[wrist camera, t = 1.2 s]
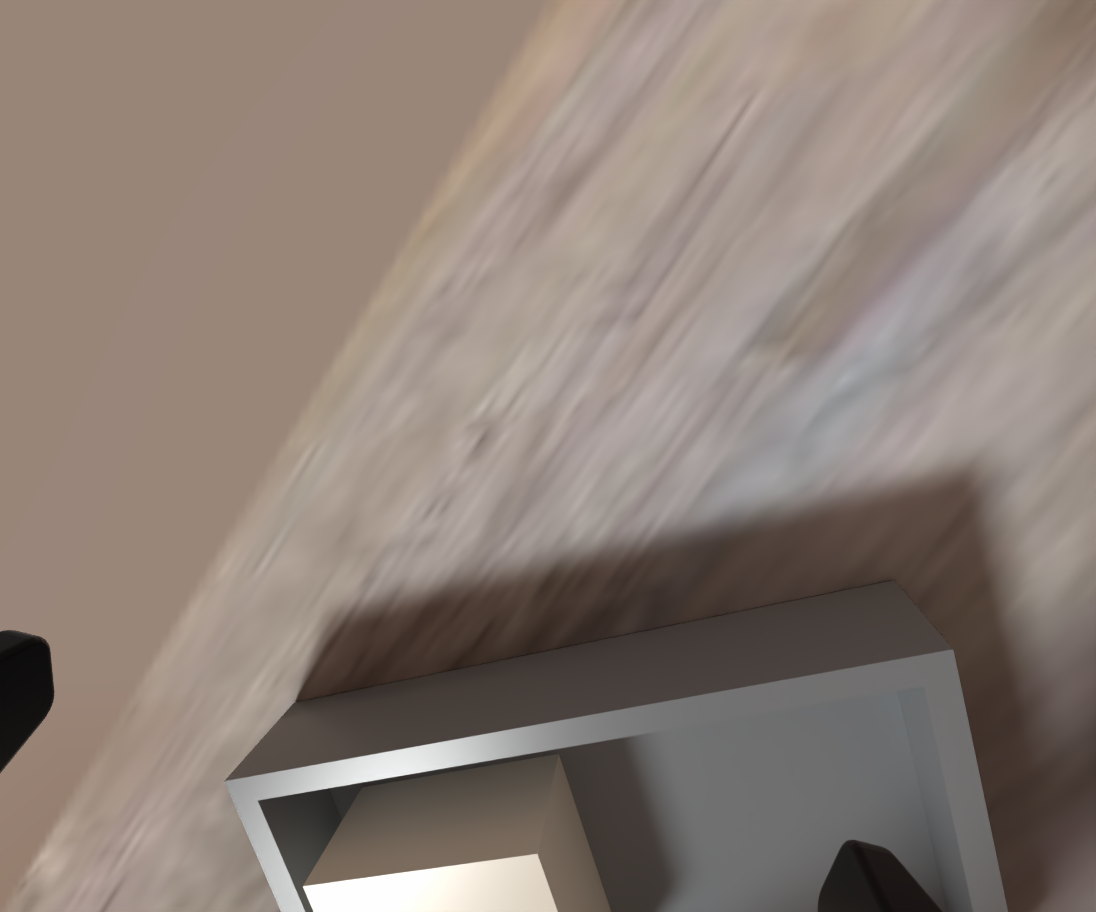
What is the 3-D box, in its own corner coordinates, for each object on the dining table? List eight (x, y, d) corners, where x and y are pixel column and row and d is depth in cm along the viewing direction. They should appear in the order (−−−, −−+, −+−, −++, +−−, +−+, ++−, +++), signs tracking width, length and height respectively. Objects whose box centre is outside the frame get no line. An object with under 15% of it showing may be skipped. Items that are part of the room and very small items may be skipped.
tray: (981, 971, 22) (1051, 1115, 18) (423, 1020, 26) (383, 1145, 22) (894, 580, 20) (953, 649, 16) (294, 702, 24) (224, 781, 20)
